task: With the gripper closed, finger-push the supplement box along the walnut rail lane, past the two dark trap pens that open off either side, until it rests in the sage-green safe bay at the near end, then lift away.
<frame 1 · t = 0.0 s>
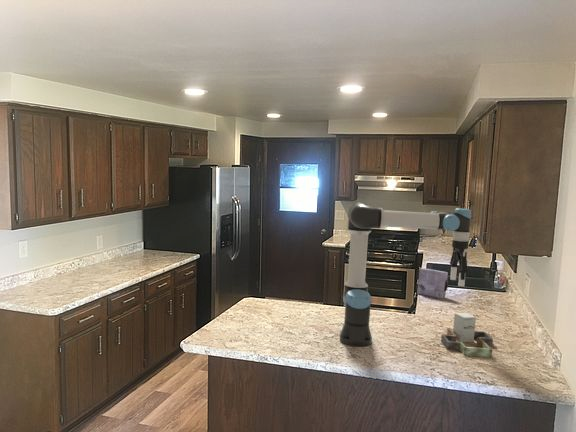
hand: (457, 282, 236), 28 cm above the worktop, fingers open, 13 cm apart
cake pan box: (431, 296, 323), on the worktop
supplement box: (462, 340, 237), on the worktop
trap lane: (468, 345, 229), on the worktop
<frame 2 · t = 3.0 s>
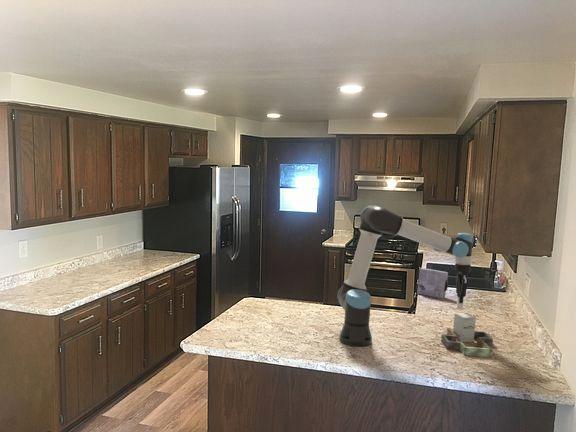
hand: (459, 308, 246), 13 cm above the worktop, fingers closed
nothing on the worktop moved.
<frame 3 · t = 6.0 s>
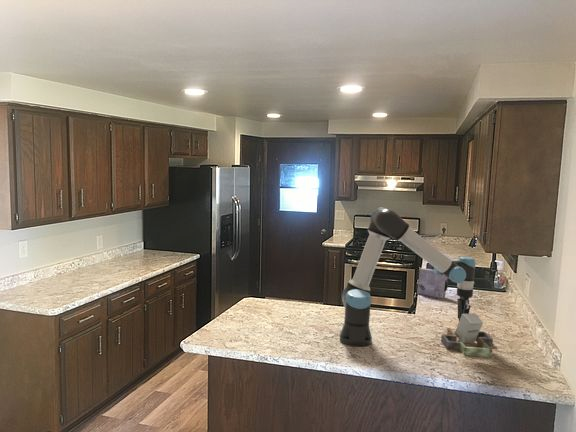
hand: (461, 334, 240), 2 cm above the worktop, fingers closed
supplement box: (464, 338, 236), point 1 cm above the worktop, touching gripper, hand
everything else where it was.
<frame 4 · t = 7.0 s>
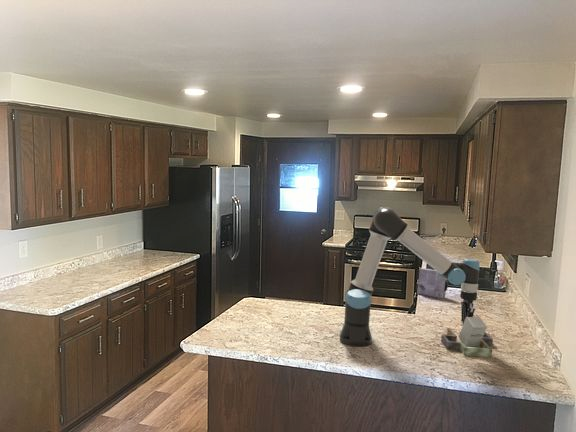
hand: (465, 338, 235), 2 cm above the worktop, fingers closed
supplement box: (468, 342, 230), point 1 cm above the worktop
everything else where it was.
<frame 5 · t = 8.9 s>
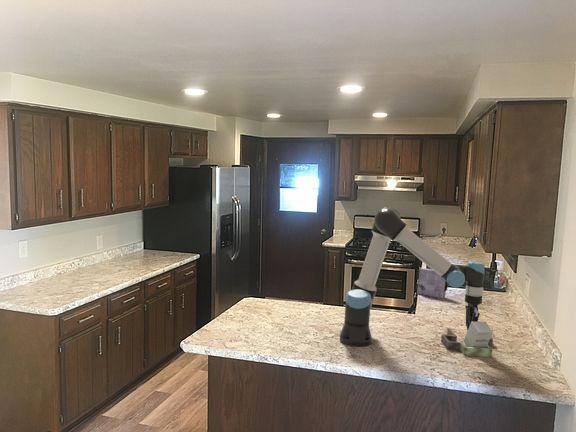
hand: (469, 343, 228), 2 cm above the worktop, fingers closed
supplement box: (473, 347, 224), point 1 cm above the worktop, touching gripper
everything else where it was.
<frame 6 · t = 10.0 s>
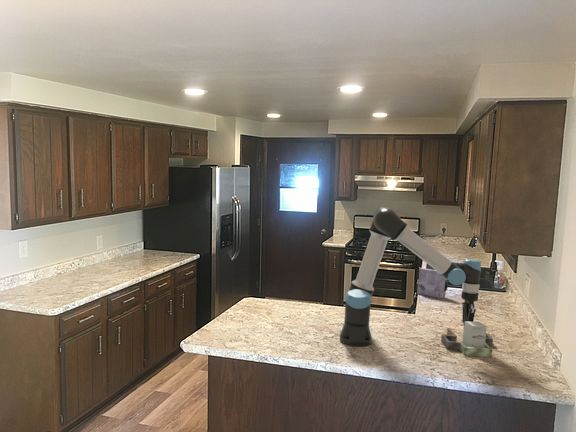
hand: (465, 339, 233), 2 cm above the worktop, fingers closed
supplement box: (473, 350, 224), on the worktop
everything else where it was.
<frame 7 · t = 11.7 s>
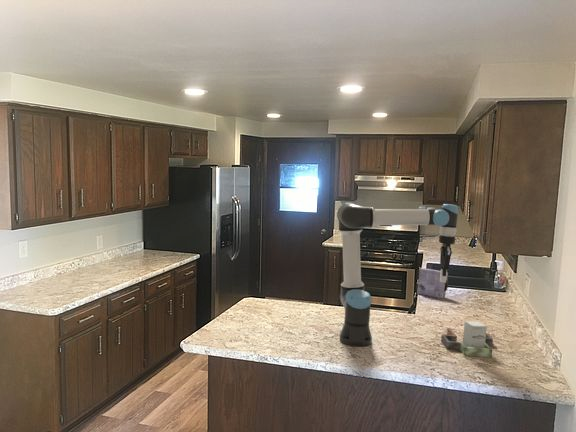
hand: (442, 281, 240), 27 cm above the worktop, fingers closed
nothing on the worktop moved.
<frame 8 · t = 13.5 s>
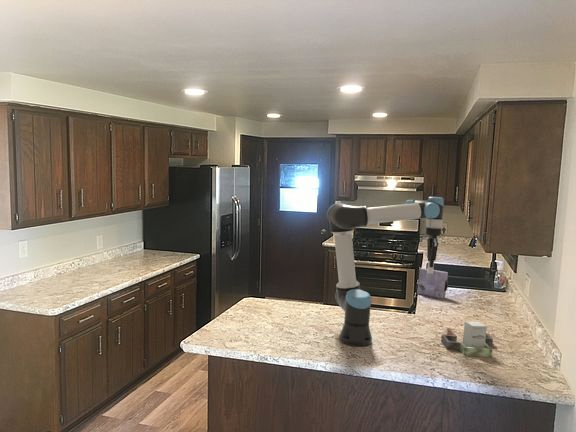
hand: (430, 273, 245), 30 cm above the worktop, fingers closed
nothing on the worktop moved.
at the end: supplement box inside the target area (2.5 cm from its centre), on the worktop; supplement box tilted 0°; supplement box moved 13.3 cm from its start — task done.
